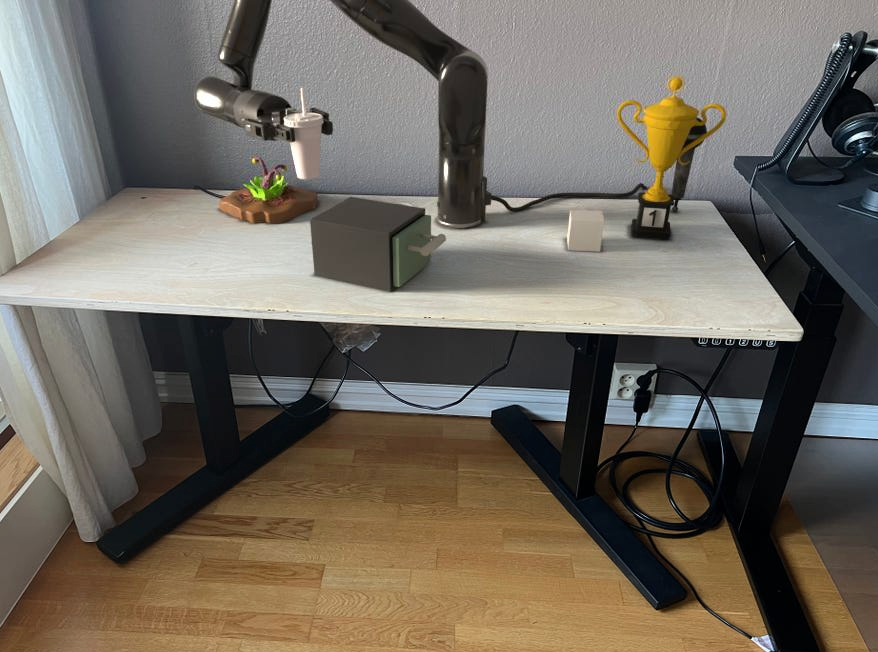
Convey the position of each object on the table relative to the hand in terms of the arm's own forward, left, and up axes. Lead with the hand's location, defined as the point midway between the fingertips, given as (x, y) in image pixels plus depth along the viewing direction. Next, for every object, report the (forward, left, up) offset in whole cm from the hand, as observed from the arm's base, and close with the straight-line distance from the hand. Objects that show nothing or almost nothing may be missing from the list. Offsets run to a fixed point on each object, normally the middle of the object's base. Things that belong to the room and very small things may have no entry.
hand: (311, 132), depth 115 cm
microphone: (-80, -2, -26) cm, 84 cm away
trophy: (-67, +6, -26) cm, 72 cm away
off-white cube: (-51, +6, -26) cm, 58 cm away
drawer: (-12, +3, -25) cm, 28 cm away
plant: (0, -42, -26) cm, 49 cm away
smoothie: (+1, -2, -8) cm, 8 cm away
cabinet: (-9, 0, -26) cm, 27 cm away
